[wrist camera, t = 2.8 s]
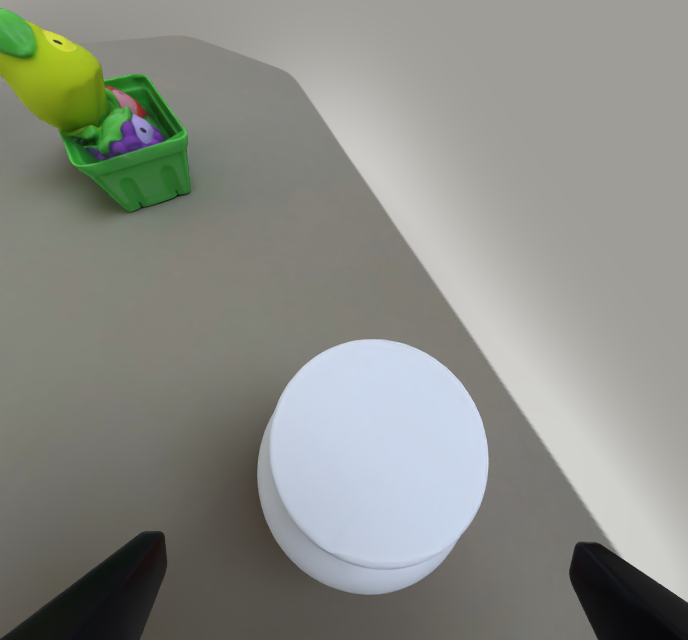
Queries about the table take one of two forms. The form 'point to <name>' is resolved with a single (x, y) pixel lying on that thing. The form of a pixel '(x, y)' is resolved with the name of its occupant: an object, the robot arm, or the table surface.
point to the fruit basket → (97, 115)
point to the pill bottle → (372, 466)
